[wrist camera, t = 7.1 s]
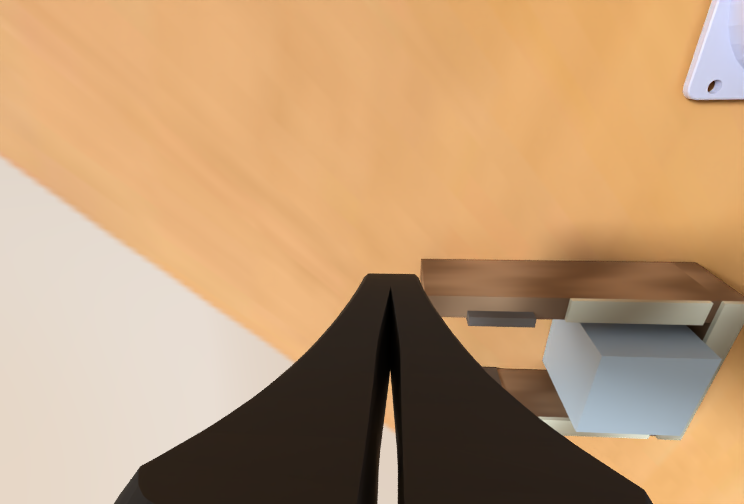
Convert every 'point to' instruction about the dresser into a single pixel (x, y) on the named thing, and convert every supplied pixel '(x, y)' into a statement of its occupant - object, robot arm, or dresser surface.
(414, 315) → the robot arm
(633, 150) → the dresser surface
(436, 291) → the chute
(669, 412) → the slate block
